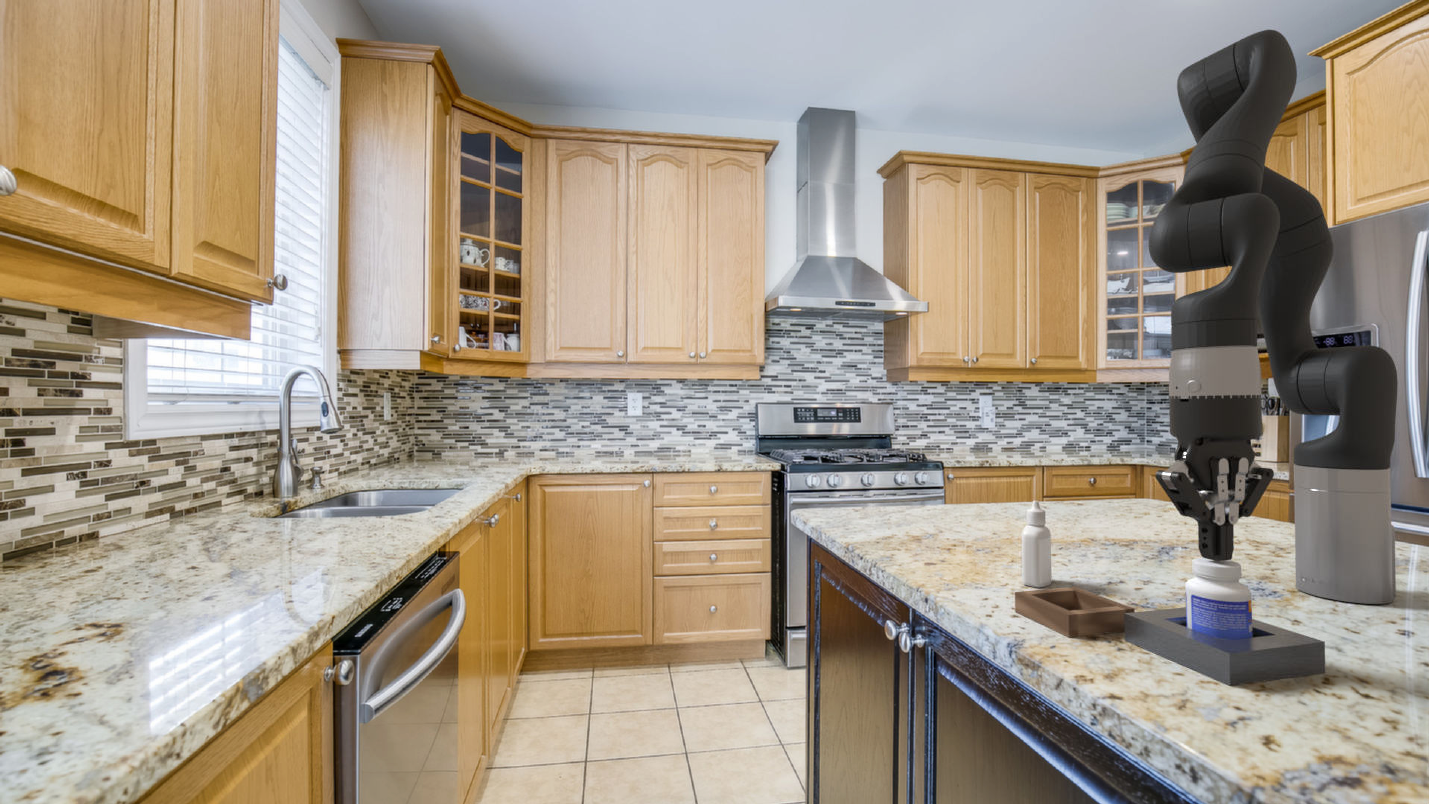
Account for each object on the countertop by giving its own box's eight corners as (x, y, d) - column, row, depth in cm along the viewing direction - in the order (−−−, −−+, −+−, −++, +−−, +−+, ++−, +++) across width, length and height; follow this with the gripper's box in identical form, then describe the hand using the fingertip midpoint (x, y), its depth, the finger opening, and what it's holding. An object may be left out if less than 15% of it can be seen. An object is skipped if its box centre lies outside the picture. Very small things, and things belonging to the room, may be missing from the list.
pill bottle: (1266, 668, 62) (1264, 569, 62) (1204, 664, 63) (1202, 567, 63) (1232, 647, 67) (1231, 556, 67) (1176, 643, 69) (1174, 554, 69)
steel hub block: (1208, 630, 72) (1208, 604, 72) (1325, 672, 61) (1324, 641, 61) (1124, 640, 70) (1124, 613, 70) (1230, 685, 58) (1229, 653, 58)
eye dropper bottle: (1064, 585, 90) (1063, 502, 90) (1032, 589, 89) (1031, 504, 89) (1040, 577, 95) (1039, 497, 95) (1010, 580, 93) (1008, 500, 93)
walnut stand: (1075, 605, 81) (1075, 586, 81) (1134, 630, 73) (1134, 608, 73) (1015, 611, 80) (1014, 591, 80) (1068, 637, 71) (1068, 615, 71)
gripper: (1228, 392, 70) (1230, 547, 70) (1129, 393, 68) (1131, 554, 68) (1303, 391, 63) (1306, 563, 63) (1196, 392, 60) (1199, 573, 60)
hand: (1215, 558), depth 65 cm, fingers closed
